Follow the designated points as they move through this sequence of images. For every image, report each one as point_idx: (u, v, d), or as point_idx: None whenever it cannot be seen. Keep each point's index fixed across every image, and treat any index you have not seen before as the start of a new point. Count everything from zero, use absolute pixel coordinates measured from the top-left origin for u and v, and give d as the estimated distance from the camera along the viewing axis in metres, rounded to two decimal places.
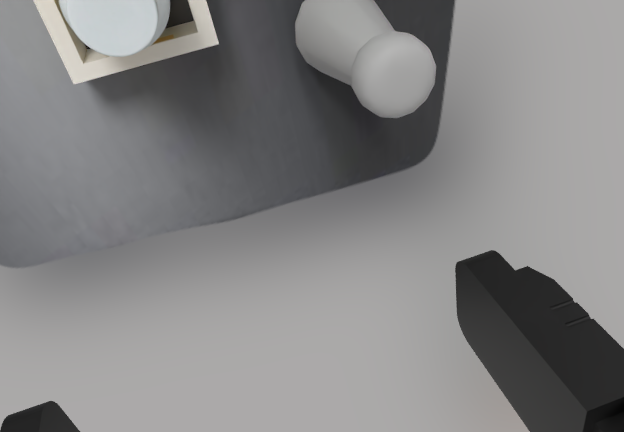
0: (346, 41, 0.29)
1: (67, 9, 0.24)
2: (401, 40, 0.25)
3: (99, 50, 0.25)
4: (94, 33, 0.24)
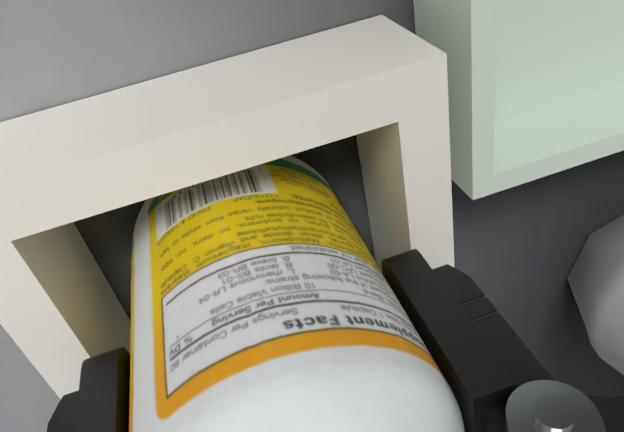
0: None
1: None
2: None
3: None
4: None
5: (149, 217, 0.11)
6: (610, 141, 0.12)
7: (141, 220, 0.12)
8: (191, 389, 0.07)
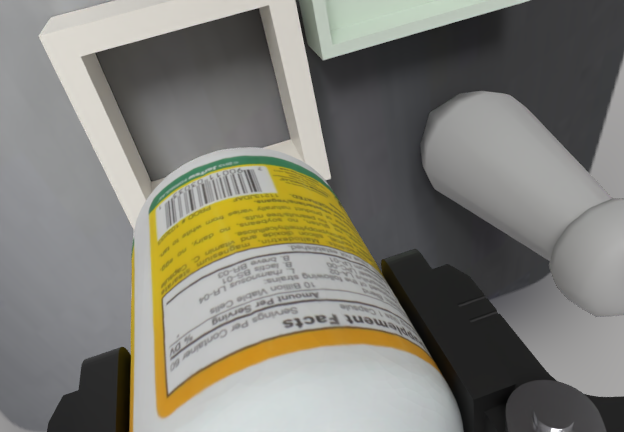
0: (532, 197, 0.20)
1: None
2: None
3: None
4: None
5: (149, 216, 0.11)
6: (399, 28, 0.22)
7: (141, 220, 0.12)
8: (192, 388, 0.07)
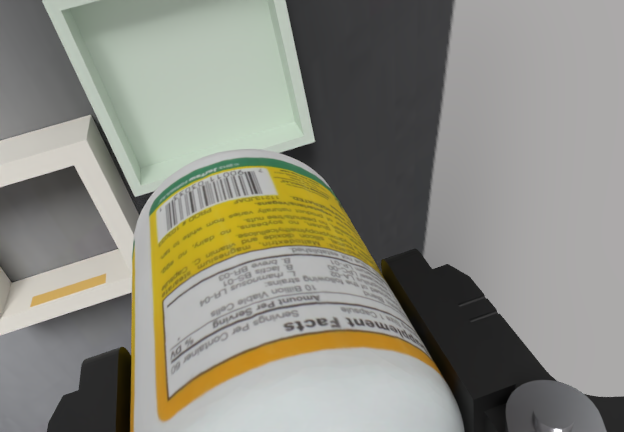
0: None
1: None
2: None
3: None
4: None
5: (149, 218, 0.11)
6: None
7: (142, 222, 0.12)
8: (193, 392, 0.07)
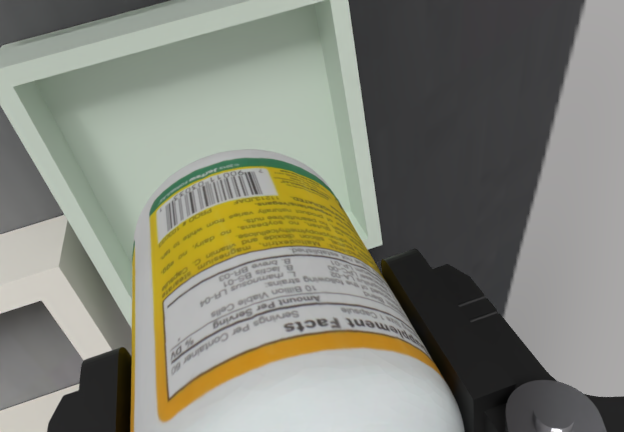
0: None
1: None
2: None
3: None
4: None
5: (150, 219, 0.11)
6: None
7: (142, 222, 0.12)
8: (193, 392, 0.07)
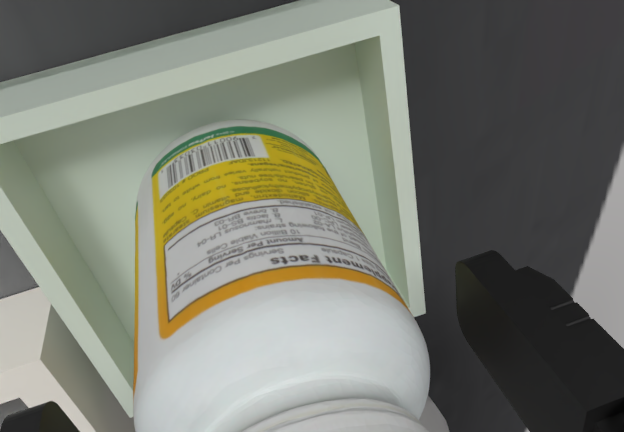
0: None
1: None
2: None
3: None
4: None
5: (152, 180, 0.12)
6: None
7: (144, 184, 0.13)
8: (190, 313, 0.08)
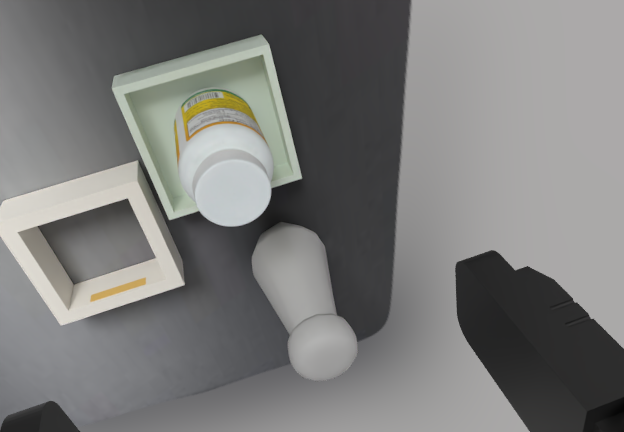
0: (287, 307, 0.34)
1: (195, 193, 0.27)
2: (324, 333, 0.31)
3: (218, 222, 0.28)
4: (215, 210, 0.27)
5: (181, 108, 0.32)
6: None
7: (178, 111, 0.33)
8: (195, 133, 0.28)
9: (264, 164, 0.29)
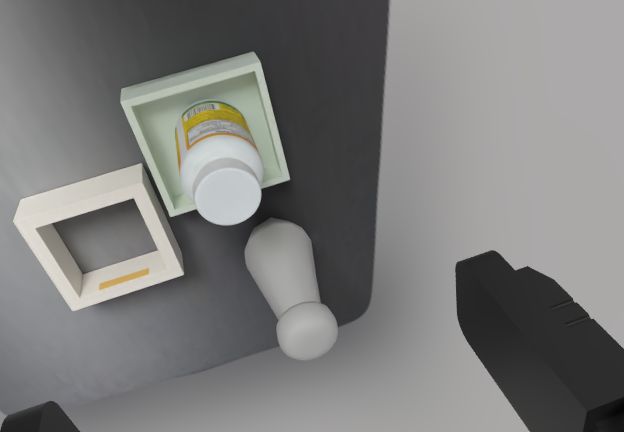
0: (276, 295, 0.39)
1: (195, 197, 0.31)
2: (308, 318, 0.35)
3: (214, 222, 0.32)
4: (212, 211, 0.31)
5: (182, 118, 0.36)
6: None
7: (179, 120, 0.37)
8: (195, 143, 0.32)
9: (255, 170, 0.33)
